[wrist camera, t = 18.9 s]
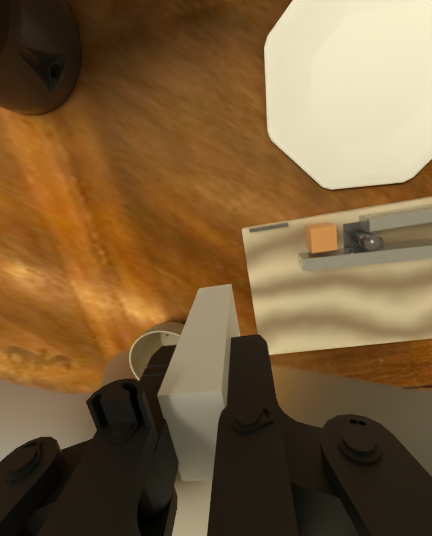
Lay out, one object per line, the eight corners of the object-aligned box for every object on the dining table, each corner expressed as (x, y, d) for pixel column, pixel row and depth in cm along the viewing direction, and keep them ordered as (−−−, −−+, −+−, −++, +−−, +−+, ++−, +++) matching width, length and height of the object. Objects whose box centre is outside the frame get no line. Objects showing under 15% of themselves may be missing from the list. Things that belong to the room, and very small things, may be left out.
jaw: (297, 248, 36) (302, 254, 33) (530, 222, 33) (557, 226, 30) (298, 265, 37) (303, 272, 34) (526, 241, 34) (553, 247, 31)
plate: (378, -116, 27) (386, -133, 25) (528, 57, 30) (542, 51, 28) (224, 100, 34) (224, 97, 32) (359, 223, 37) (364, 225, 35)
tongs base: (249, 228, 36) (250, 234, 32) (533, 181, 32) (577, 181, 28) (254, 266, 38) (256, 277, 34) (526, 227, 33) (567, 233, 29)
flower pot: (218, 328, 43) (214, 356, 36) (187, 371, 46) (177, 404, 39) (164, 295, 42) (149, 318, 35) (135, 341, 45) (116, 370, 38)
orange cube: (304, 225, 36) (310, 229, 33) (328, 221, 35) (336, 225, 32) (306, 247, 36) (312, 253, 34) (329, 244, 36) (337, 249, 33)
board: (241, 227, 38) (241, 229, 37) (537, 178, 33) (548, 178, 32) (260, 351, 43) (261, 355, 42) (515, 324, 38) (523, 329, 37)
